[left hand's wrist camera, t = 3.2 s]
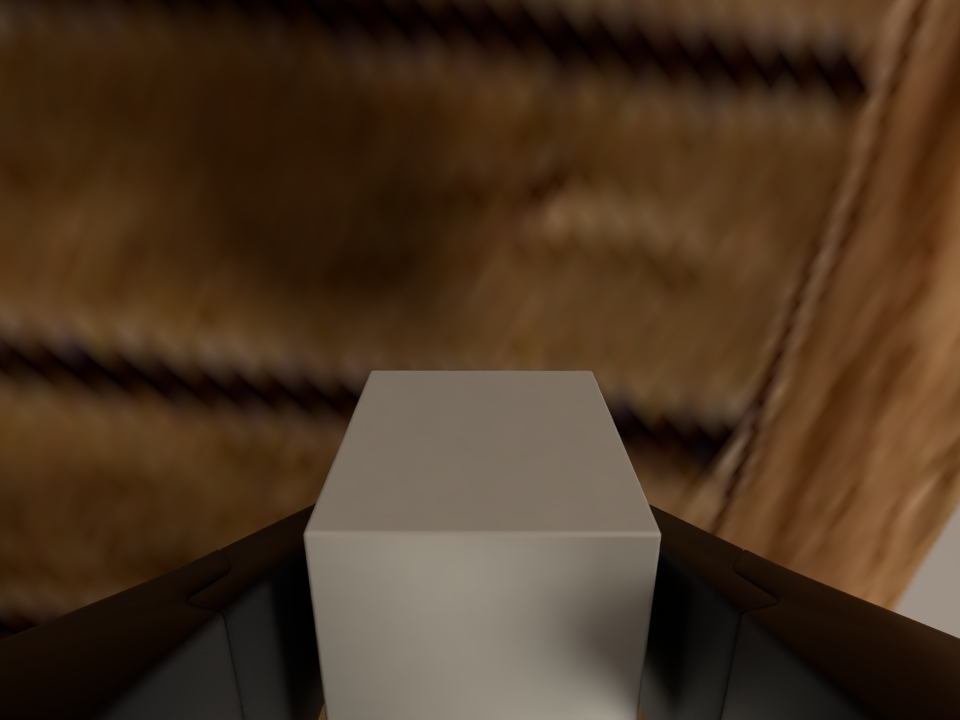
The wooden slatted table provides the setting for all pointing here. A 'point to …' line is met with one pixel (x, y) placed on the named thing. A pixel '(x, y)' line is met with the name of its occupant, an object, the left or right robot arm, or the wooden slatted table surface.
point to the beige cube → (481, 553)
